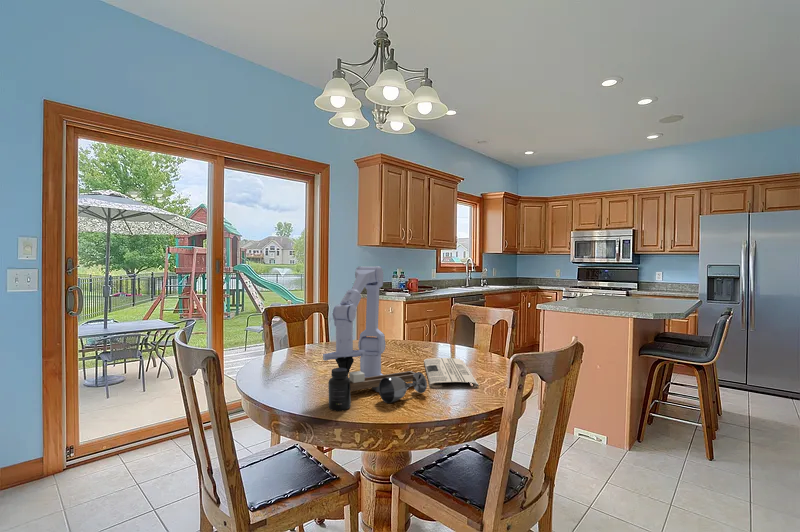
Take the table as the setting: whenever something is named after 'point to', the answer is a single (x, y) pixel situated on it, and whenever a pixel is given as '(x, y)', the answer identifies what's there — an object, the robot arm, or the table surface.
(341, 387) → the supplement bottle
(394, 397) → the wine glass
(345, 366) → the robot arm
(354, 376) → the block
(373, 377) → the beam
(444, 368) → the newspaper
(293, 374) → the table surface
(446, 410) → the table surface
